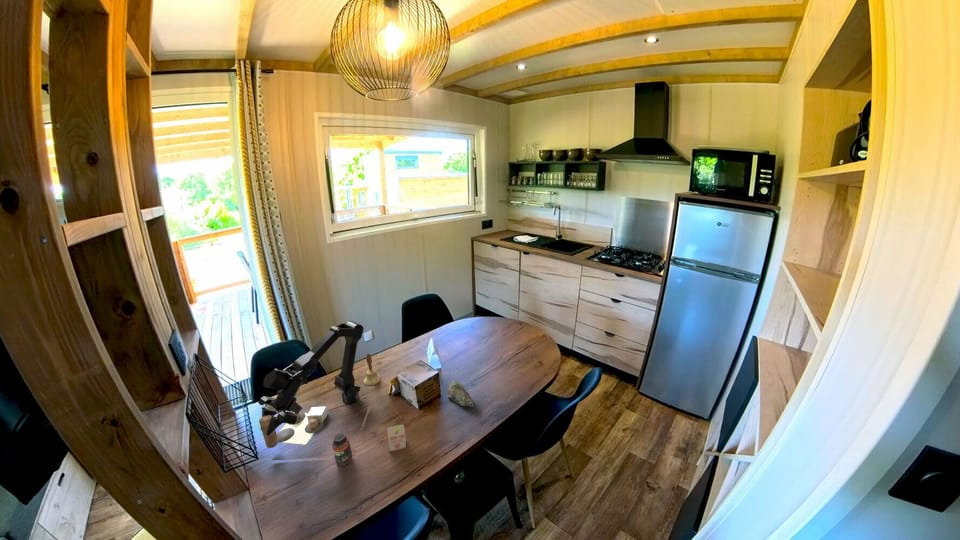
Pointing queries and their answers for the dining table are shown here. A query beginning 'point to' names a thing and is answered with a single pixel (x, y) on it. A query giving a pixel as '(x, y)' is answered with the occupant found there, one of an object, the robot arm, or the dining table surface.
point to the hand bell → (371, 373)
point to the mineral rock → (459, 394)
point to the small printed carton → (396, 438)
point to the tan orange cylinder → (272, 438)
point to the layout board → (299, 430)
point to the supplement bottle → (341, 449)
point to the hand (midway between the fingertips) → (264, 432)
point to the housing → (317, 414)
